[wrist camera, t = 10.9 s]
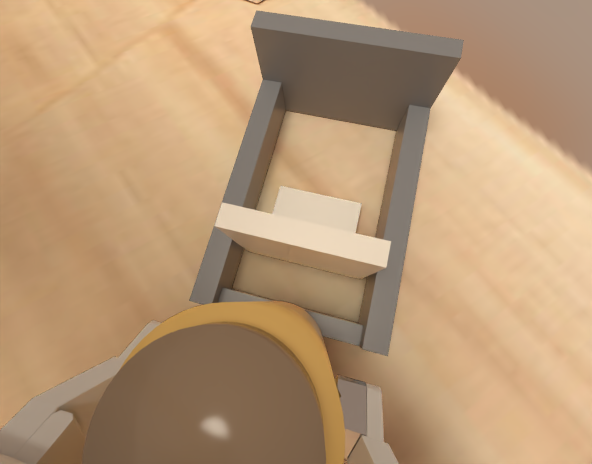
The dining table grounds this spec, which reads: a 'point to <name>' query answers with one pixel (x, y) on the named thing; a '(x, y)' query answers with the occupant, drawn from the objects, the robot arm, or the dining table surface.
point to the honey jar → (223, 392)
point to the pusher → (307, 233)
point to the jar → (255, 1)
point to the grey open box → (346, 107)
